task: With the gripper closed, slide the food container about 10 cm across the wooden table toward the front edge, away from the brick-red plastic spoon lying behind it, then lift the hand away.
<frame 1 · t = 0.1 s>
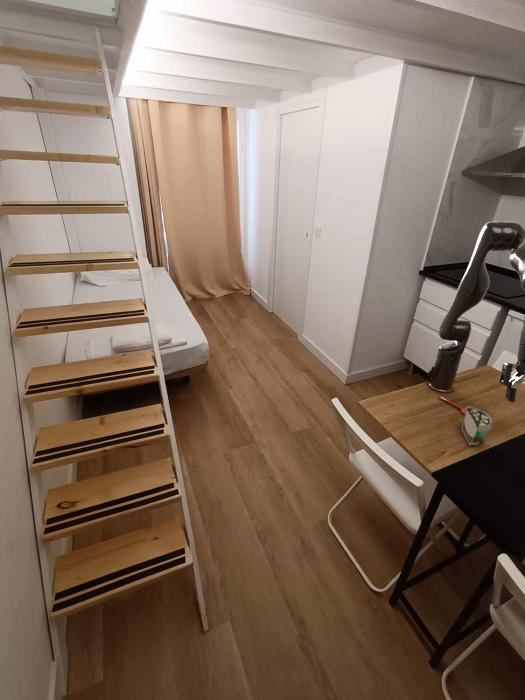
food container: (474, 438, 122), on the table
spoon: (456, 407, 139), on the table
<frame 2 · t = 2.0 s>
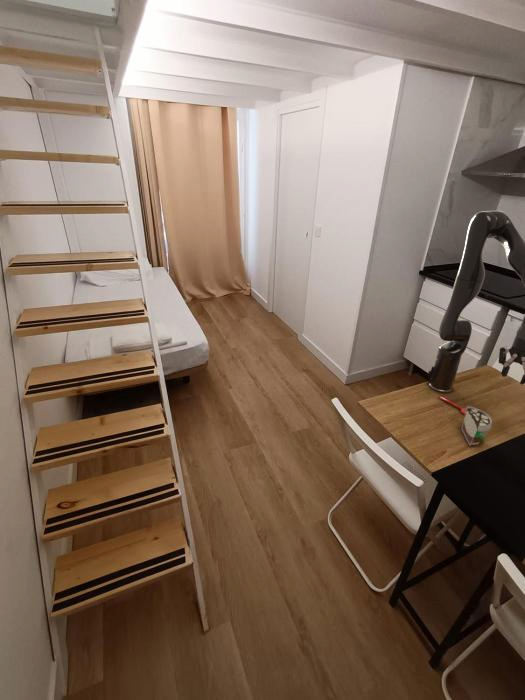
hand: (513, 379, 118), 21 cm above the table, tool pointing down, fingers open, 5 cm apart
nothing on the table moved.
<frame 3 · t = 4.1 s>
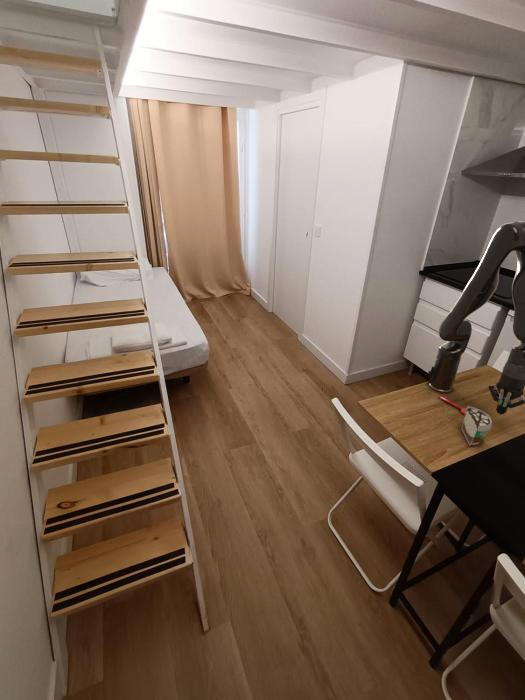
hand: (500, 413, 124), 7 cm above the table, tool pointing down, fingers closed
nothing on the table moved.
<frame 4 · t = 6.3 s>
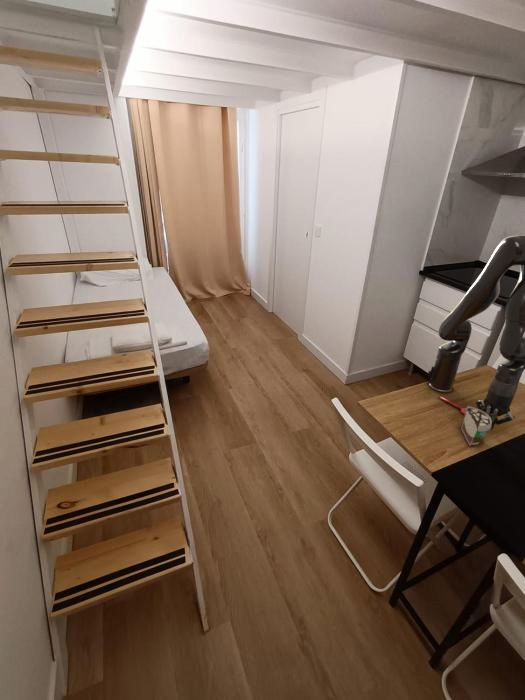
hand: (487, 428, 124), 2 cm above the table, tool pointing down, fingers closed
nothing on the table moved.
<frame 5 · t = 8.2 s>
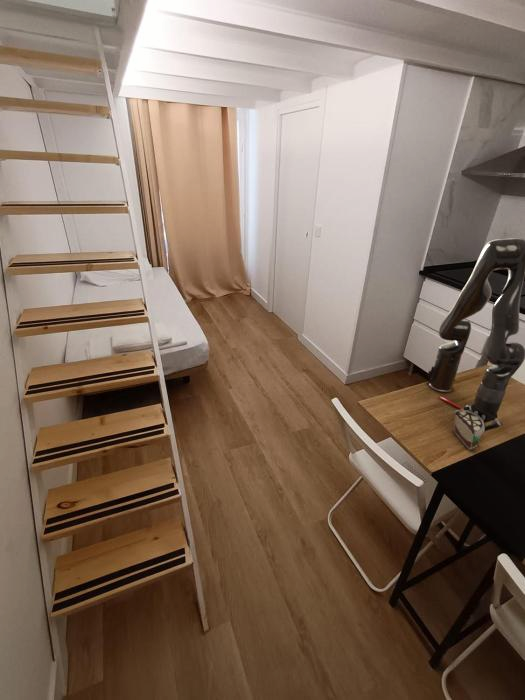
hand: (474, 434, 121), 1 cm above the table, tool pointing down, fingers closed
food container: (470, 439, 120), point 1 cm above the table, touching gripper, hand
everything else where it was.
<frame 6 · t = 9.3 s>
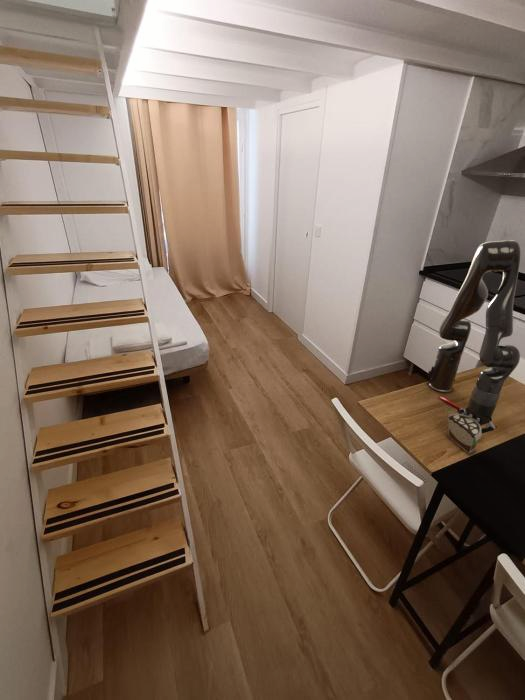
hand: (469, 437, 120), 2 cm above the table, tool pointing down, fingers closed
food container: (465, 442, 119), on the table, touching gripper, hand
everything else where it was.
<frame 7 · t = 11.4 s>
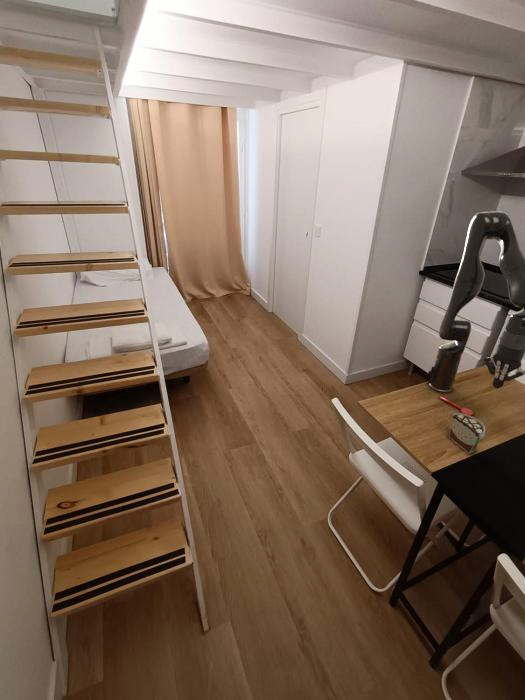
hand: (496, 387, 118), 19 cm above the table, tool pointing down, fingers closed
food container: (465, 443, 120), on the table
everything else where it was.
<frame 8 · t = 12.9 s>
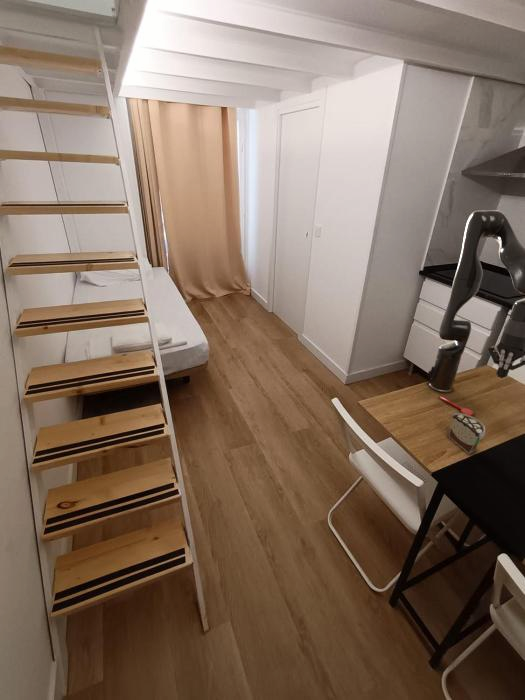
hand: (500, 376, 117), 23 cm above the table, tool pointing down, fingers closed
nothing on the table moved.
at the end: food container inside the target area (5.4 cm from its centre), on the table; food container tilted 0°; spoon moved 0.0 cm from its start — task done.
